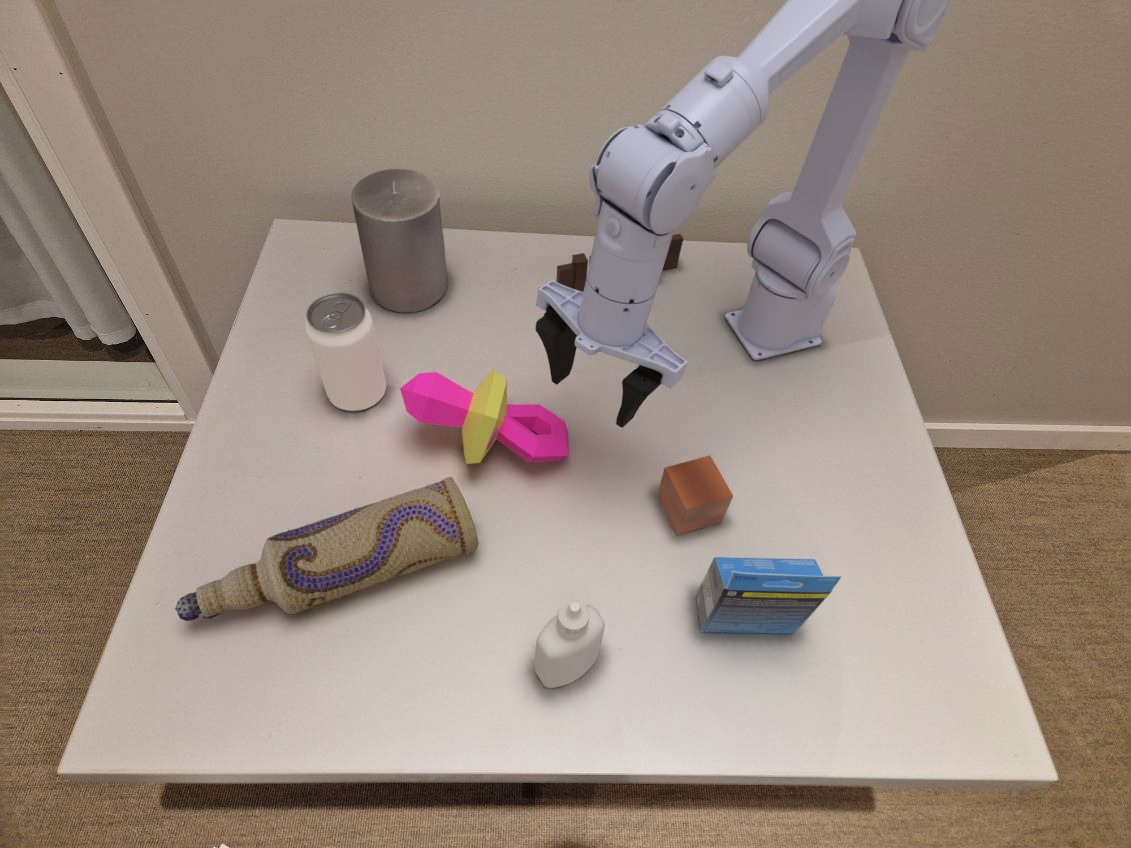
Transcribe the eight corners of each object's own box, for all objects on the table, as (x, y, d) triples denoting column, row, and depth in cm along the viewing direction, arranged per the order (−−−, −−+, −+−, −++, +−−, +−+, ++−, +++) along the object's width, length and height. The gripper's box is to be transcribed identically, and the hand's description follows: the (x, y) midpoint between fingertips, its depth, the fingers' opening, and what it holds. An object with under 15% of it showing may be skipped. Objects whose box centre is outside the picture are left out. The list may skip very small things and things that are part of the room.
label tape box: (787, 596, 68) (832, 532, 58) (796, 638, 66) (844, 578, 56) (694, 594, 68) (724, 529, 58) (699, 636, 65) (731, 576, 56)
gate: (554, 295, 92) (556, 259, 87) (671, 259, 97) (678, 223, 92) (560, 304, 91) (562, 268, 86) (678, 267, 96) (686, 231, 92)
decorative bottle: (458, 497, 73) (453, 460, 68) (482, 561, 69) (479, 527, 64) (184, 583, 66) (155, 549, 61) (193, 661, 62) (163, 631, 56)
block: (700, 482, 76) (710, 454, 72) (722, 522, 73) (733, 496, 69) (656, 494, 74) (664, 467, 70) (676, 536, 72) (686, 509, 68)
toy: (550, 509, 74) (589, 426, 69) (376, 456, 70) (404, 365, 65) (551, 457, 82) (585, 380, 78) (395, 407, 79) (422, 323, 74)
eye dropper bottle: (533, 640, 64) (535, 580, 55) (596, 637, 65) (609, 578, 55) (535, 690, 62) (537, 637, 52) (600, 687, 62) (615, 633, 53)
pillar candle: (369, 264, 93) (347, 160, 82) (445, 258, 95) (435, 155, 83) (370, 317, 88) (347, 213, 76) (452, 310, 89) (442, 207, 77)
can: (317, 406, 79) (289, 327, 70) (342, 363, 83) (319, 283, 73) (373, 419, 78) (353, 341, 69) (396, 375, 82) (380, 296, 73)
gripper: (521, 259, 58) (506, 379, 68) (670, 349, 54) (631, 465, 64) (573, 228, 63) (552, 345, 73) (716, 308, 58) (672, 423, 68)
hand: (592, 399), depth 68 cm, fingers open, 7 cm apart
